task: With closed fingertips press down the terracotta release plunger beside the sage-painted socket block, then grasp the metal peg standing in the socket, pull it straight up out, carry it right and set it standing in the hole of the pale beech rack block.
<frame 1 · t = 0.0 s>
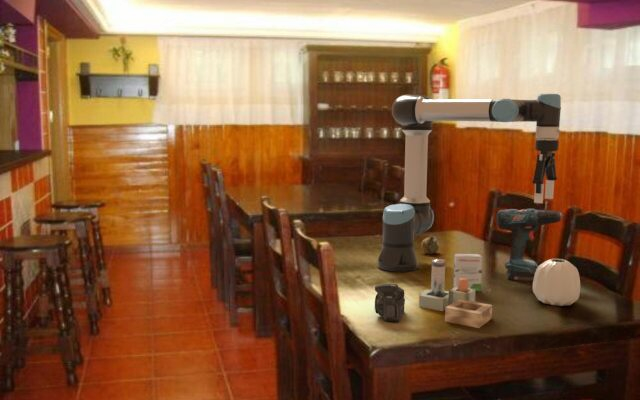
hand: (543, 200, 221), 28 cm above the table, fingers open, 13 cm apart
rack block: (468, 319, 181), on the table
metal peg: (437, 305, 194), resting in socket block
ink box: (467, 290, 212), on the table
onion: (430, 253, 266), on the table
socket block: (437, 305, 194), on the table
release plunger: (463, 287, 189), point 7 cm above the table, slide at 0.0 cm
power drill: (527, 278, 227), on the table
vase: (555, 303, 198), on the table
camera: (390, 317, 183), on the table
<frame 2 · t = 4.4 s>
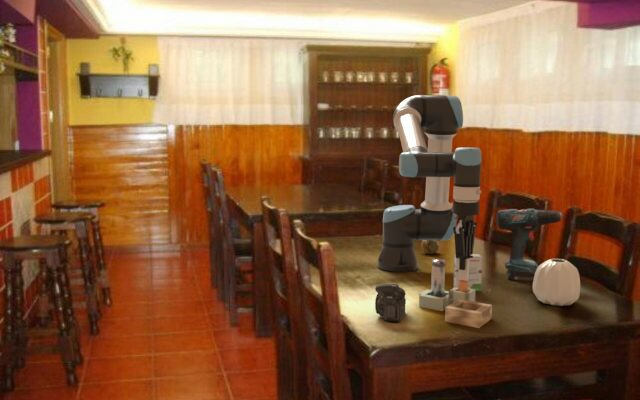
hand: (463, 279, 188), 9 cm above the table, fingers closed
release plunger: (463, 288, 189), point 6 cm above the table, slide at 0.4 cm, touching gripper
everything else where it was.
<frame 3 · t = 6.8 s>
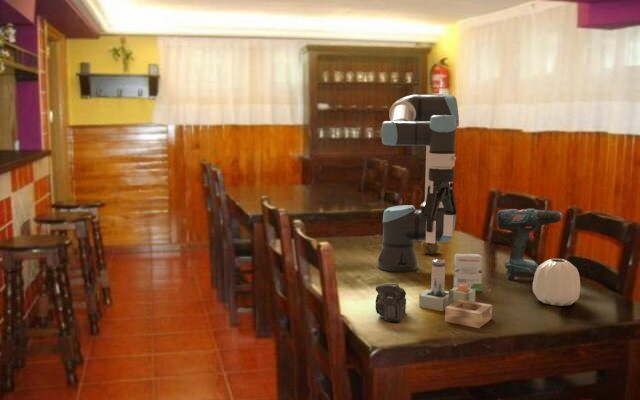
hand: (439, 239, 191), 20 cm above the table, fingers open, 12 cm apart
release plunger: (462, 293, 189), point 5 cm above the table, slide at 1.9 cm
everything else where it was.
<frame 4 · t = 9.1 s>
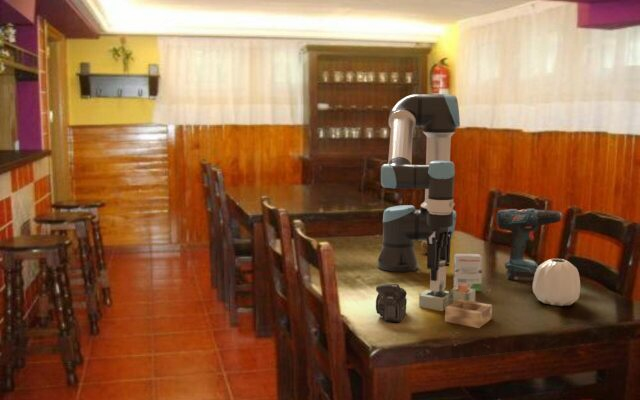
hand: (437, 288, 194), 5 cm above the table, fingers closed on metal peg, 4 cm apart
metal peg: (437, 305, 194), resting in socket block, touching gripper
everything else where it was.
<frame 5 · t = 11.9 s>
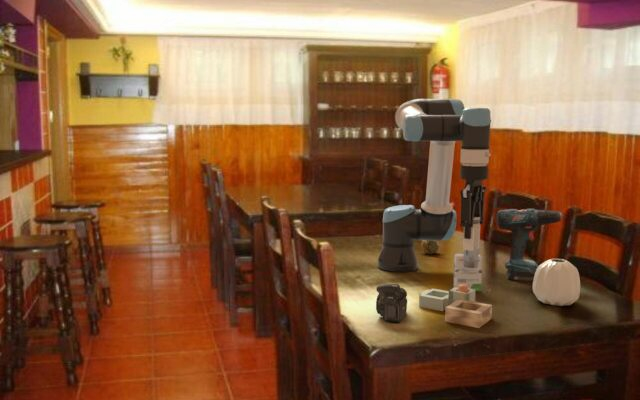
hand: (471, 248, 178), 21 cm above the table, fingers closed on metal peg, 4 cm apart
metal peg: (470, 266, 178), point 16 cm above the table, touching gripper
everything else where it was.
when the fingers open (6 cm above the table, at t = 14.6 s): metal peg drops 1 cm, resting in rack block.
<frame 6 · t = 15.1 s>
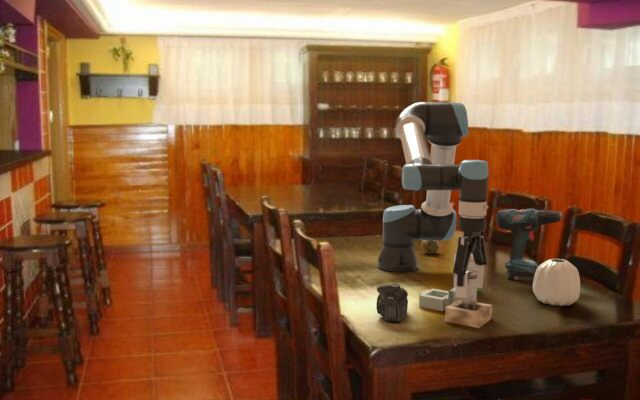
hand: (469, 292, 179), 8 cm above the table, fingers open, 12 cm apart
metal peg: (468, 319, 181), resting in rack block
everything else where it was.
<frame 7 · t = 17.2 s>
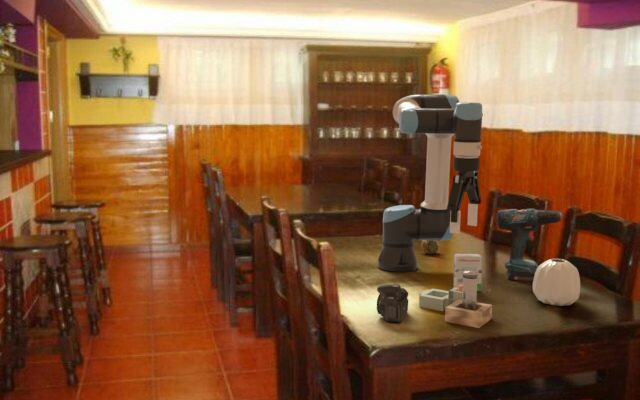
hand: (463, 229, 186), 24 cm above the table, fingers open, 13 cm apart
nothing on the table moved.
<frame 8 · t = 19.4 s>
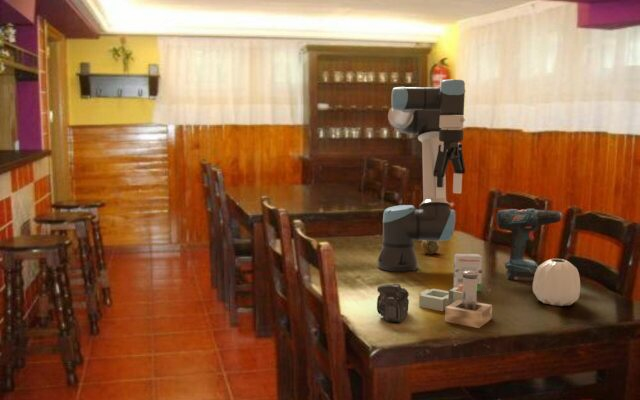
hand: (449, 195, 205), 32 cm above the table, fingers open, 13 cm apart
at the end: metal peg 0.0 cm off-centre on the rack block, point 0.0 cm above the rack block's base; metal peg tilted 0°; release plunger slide at 1.9 cm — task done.
